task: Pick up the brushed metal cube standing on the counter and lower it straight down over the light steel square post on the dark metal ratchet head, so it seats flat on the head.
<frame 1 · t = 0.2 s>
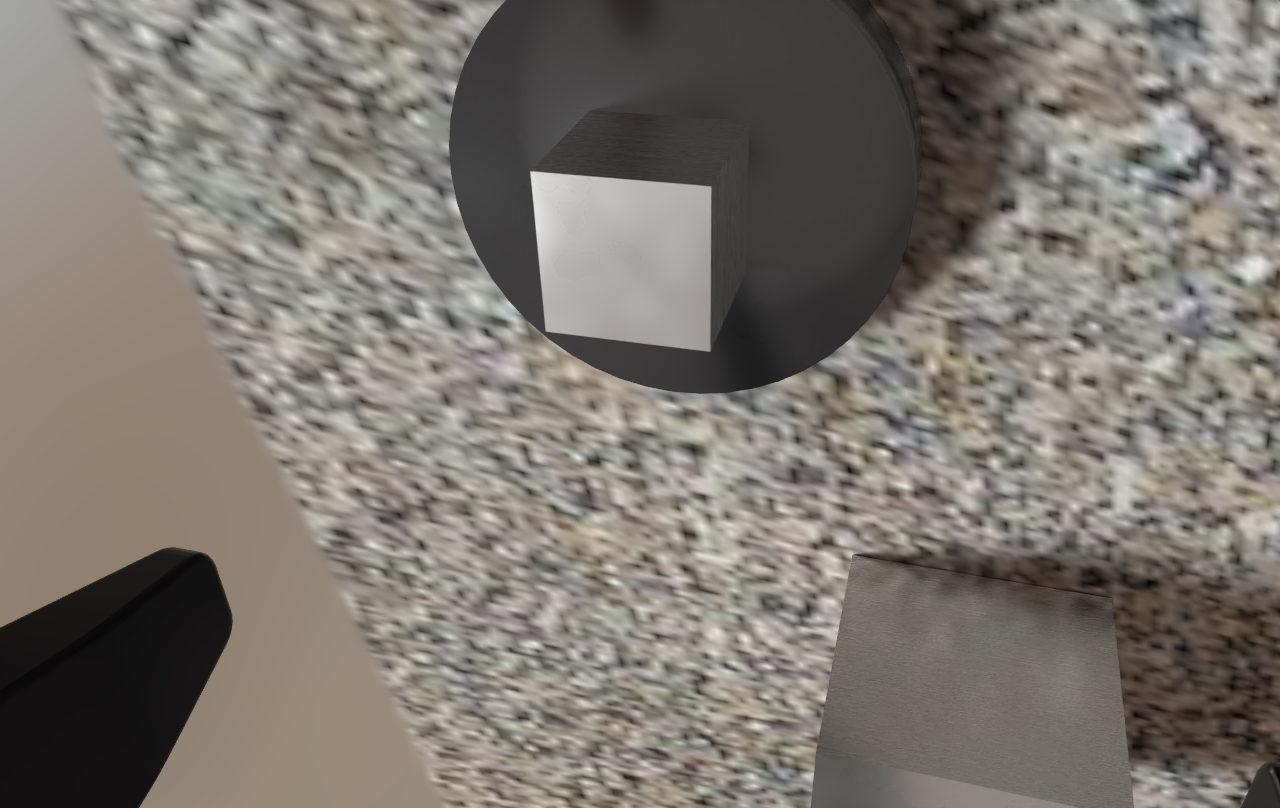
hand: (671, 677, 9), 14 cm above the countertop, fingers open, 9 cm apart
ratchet: (694, 154, 21), on the countertop
brushed metal cube: (960, 661, 27), on the countertop
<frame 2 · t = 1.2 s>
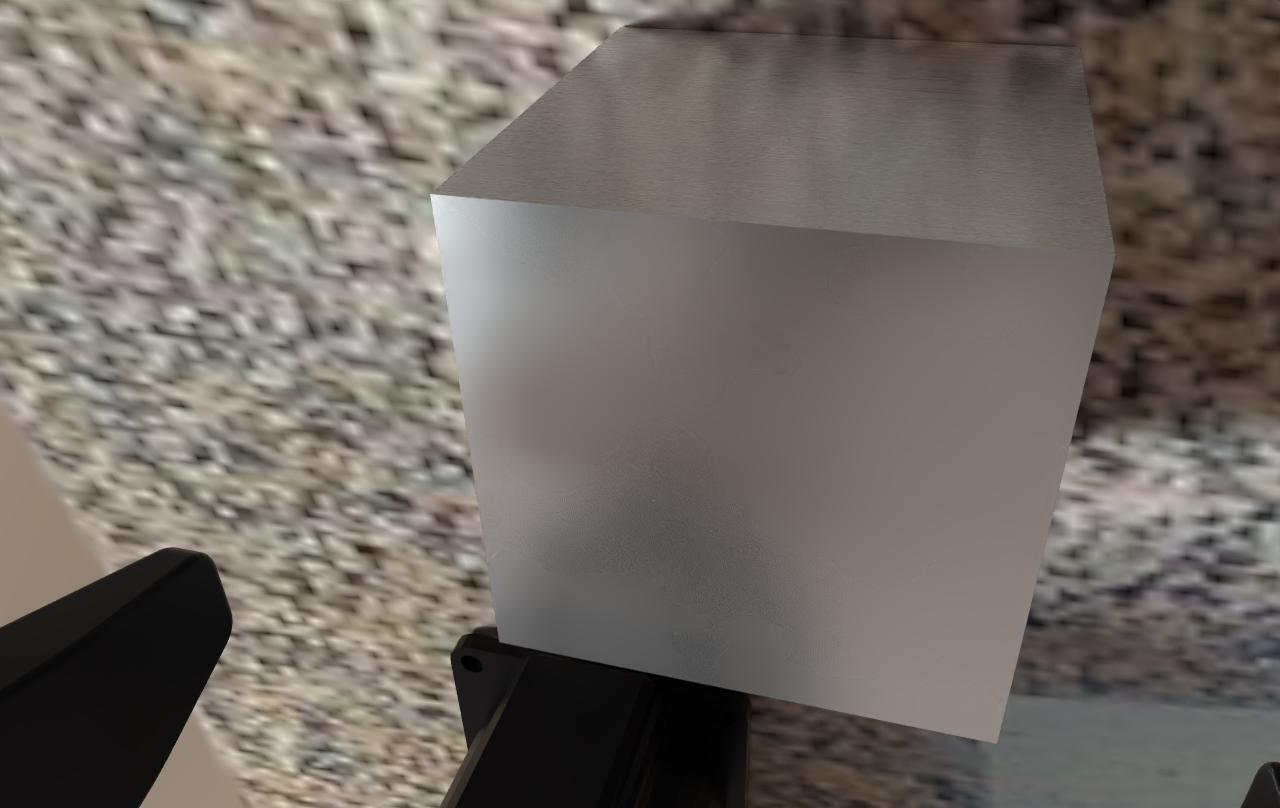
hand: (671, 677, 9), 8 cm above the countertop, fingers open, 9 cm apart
brushed metal cube: (822, 244, 16), on the countertop
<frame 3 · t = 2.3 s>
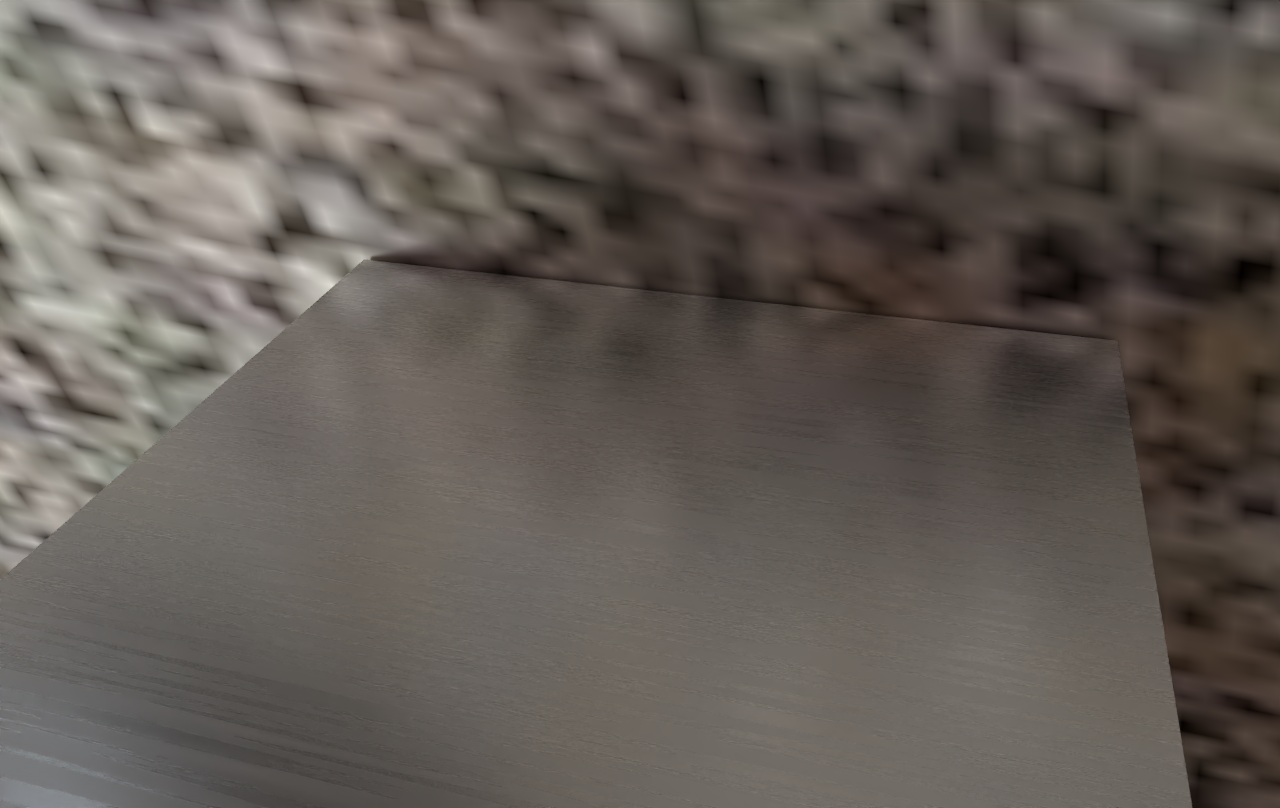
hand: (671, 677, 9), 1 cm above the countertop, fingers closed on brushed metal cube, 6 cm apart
brushed metal cube: (705, 579, 10), on the countertop, touching gripper
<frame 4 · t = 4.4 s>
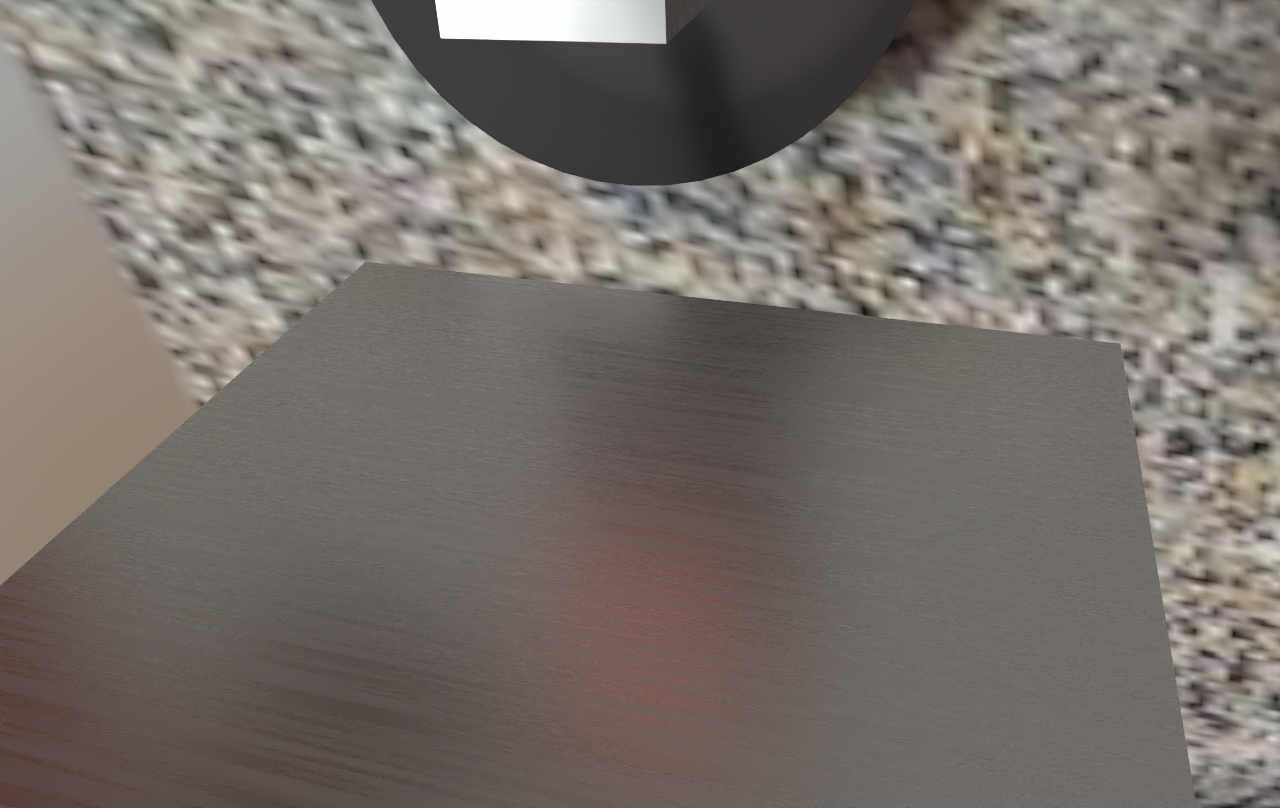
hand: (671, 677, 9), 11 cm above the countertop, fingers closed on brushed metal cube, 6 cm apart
brushed metal cube: (706, 581, 10), point 10 cm above the countertop, touching gripper
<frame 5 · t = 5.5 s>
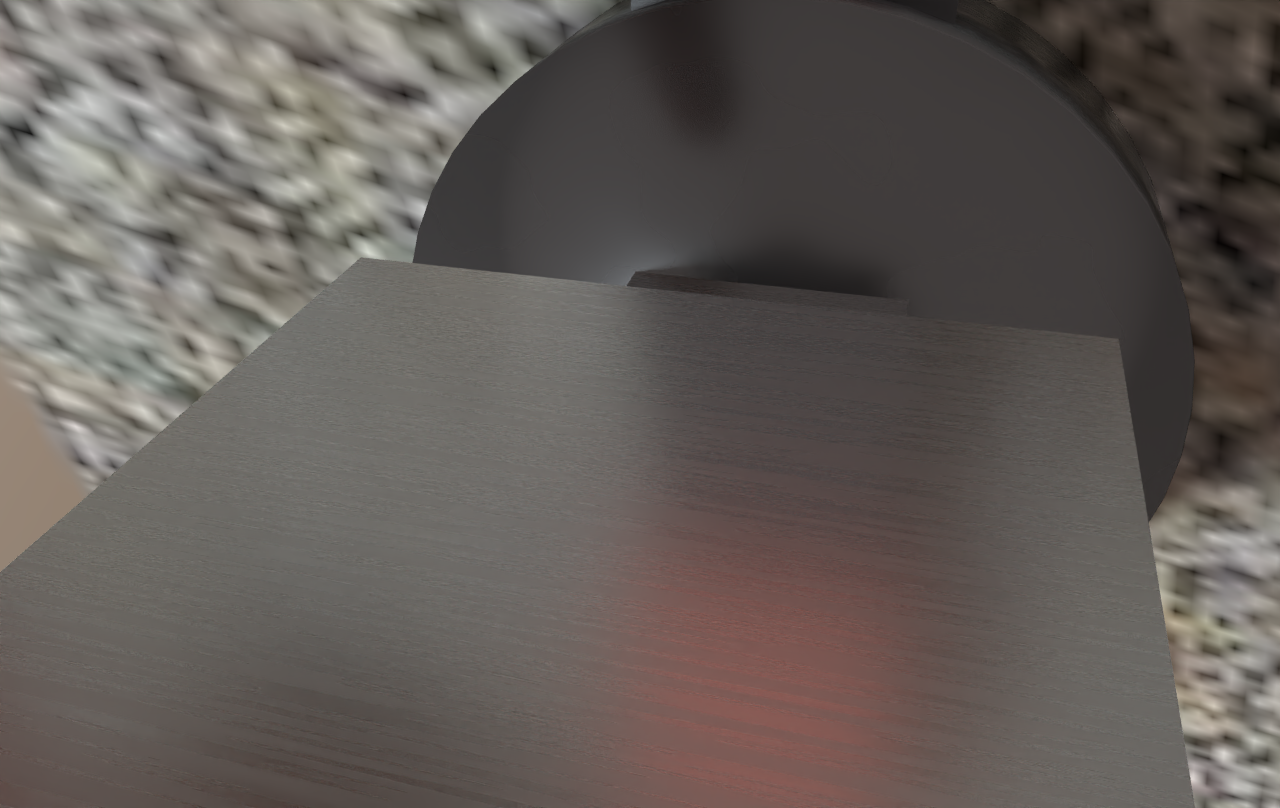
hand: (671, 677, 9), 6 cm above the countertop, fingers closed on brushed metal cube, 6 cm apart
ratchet: (791, 318, 14), on the countertop
brushed metal cube: (704, 579, 10), point 5 cm above the countertop, touching gripper
when the fingers open (4 cm above the countertop, at t = 6.3 s): brushed metal cube drops 1 cm, resting on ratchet.
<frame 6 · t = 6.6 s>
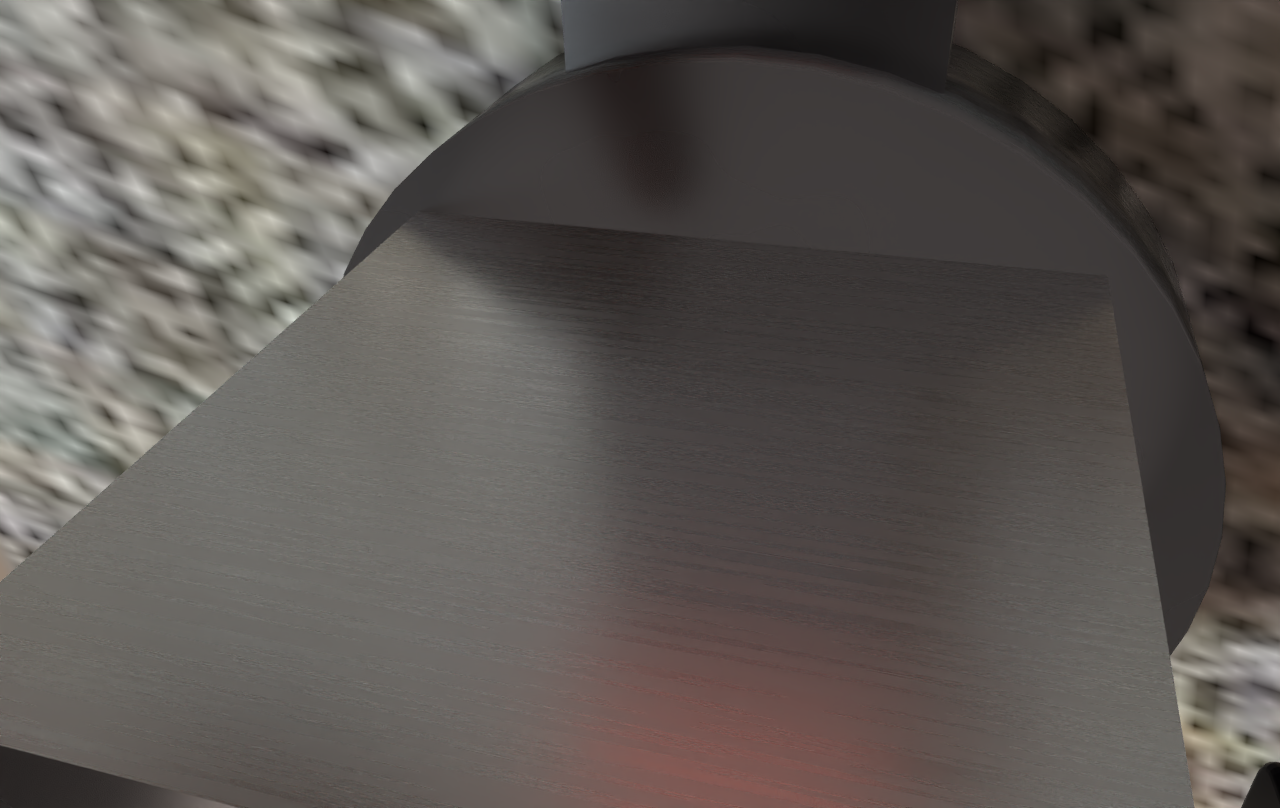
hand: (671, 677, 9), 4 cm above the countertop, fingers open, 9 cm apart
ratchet: (762, 403, 12), on the countertop, touching brushed metal cube
brushed metal cube: (729, 510, 11), point 2 cm above the countertop, touching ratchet
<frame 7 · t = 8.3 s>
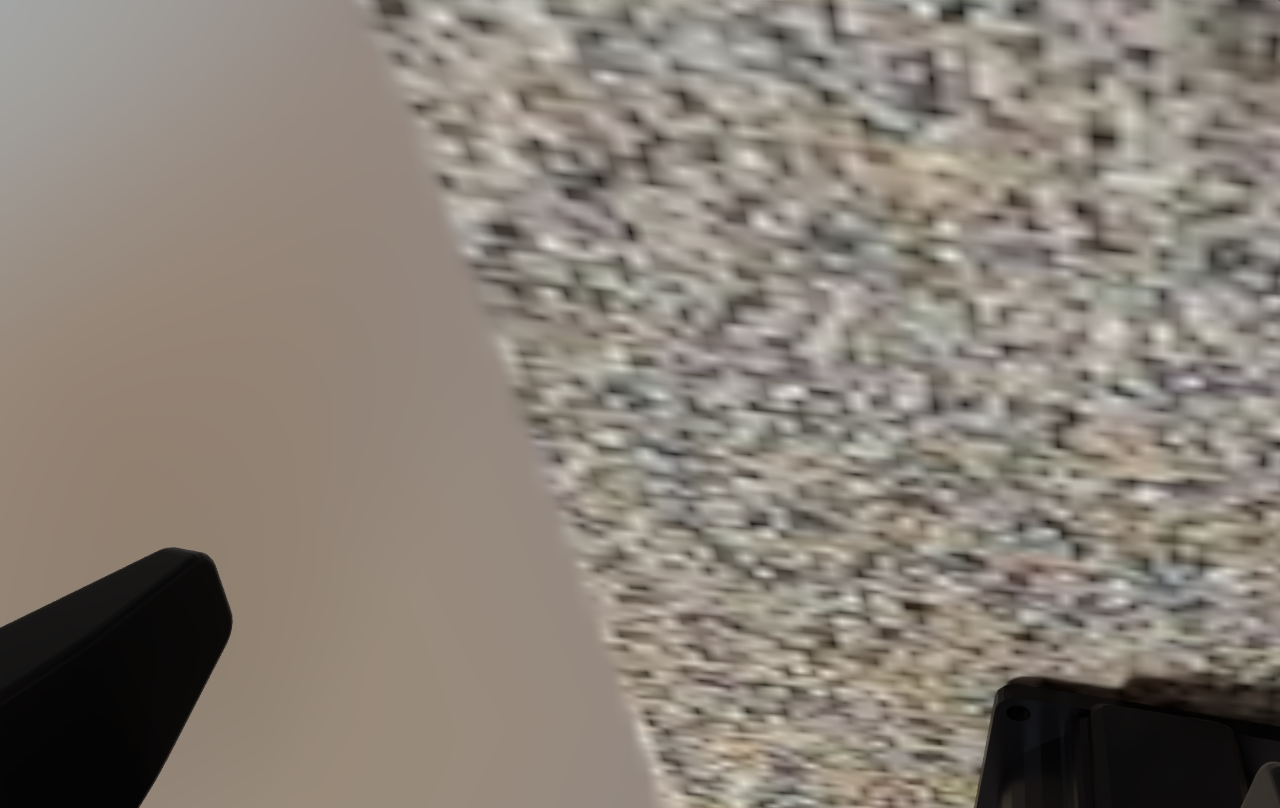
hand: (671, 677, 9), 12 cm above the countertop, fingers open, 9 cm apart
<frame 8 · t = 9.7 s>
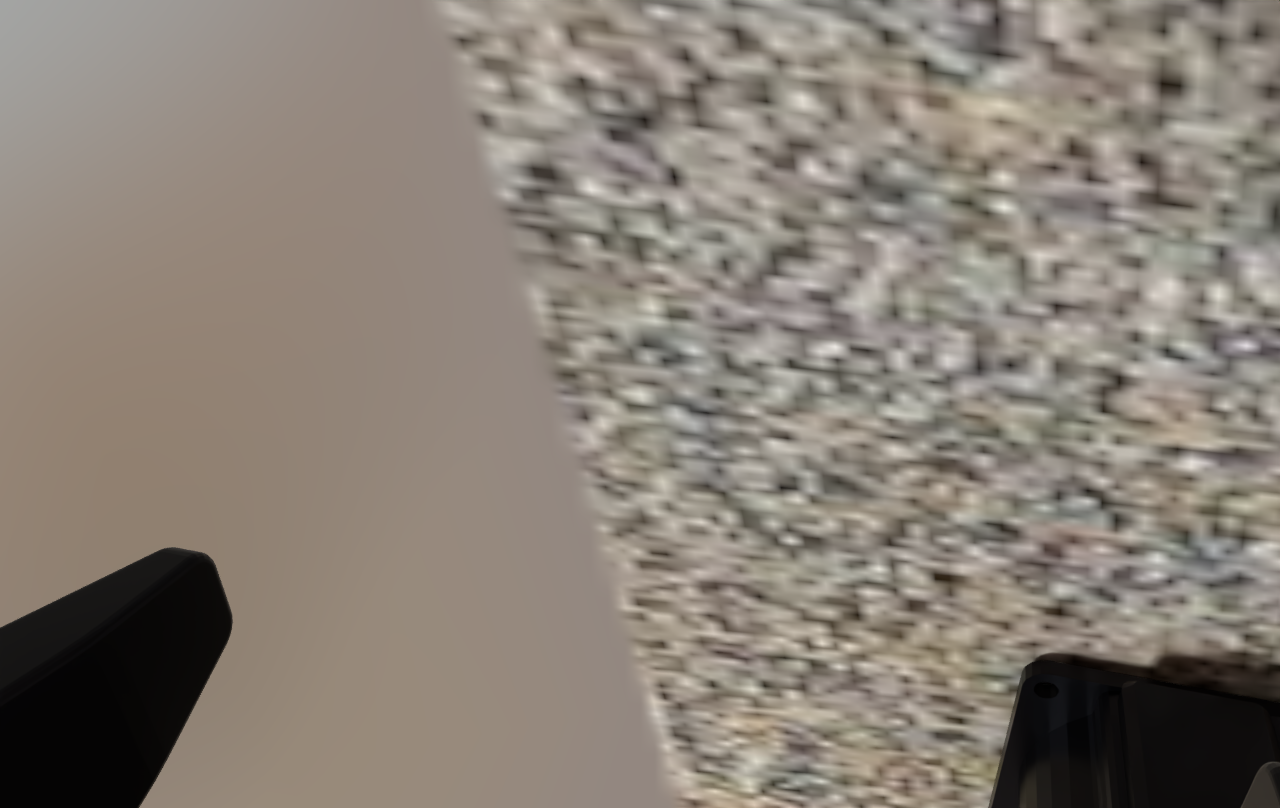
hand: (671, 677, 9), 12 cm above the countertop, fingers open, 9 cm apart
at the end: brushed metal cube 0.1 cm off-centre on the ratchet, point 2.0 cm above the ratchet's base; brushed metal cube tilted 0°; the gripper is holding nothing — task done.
